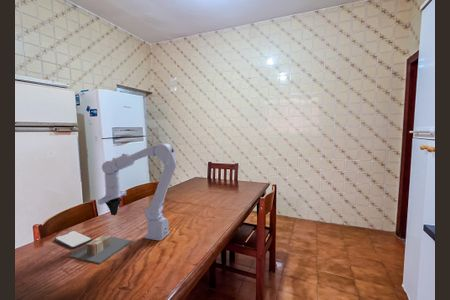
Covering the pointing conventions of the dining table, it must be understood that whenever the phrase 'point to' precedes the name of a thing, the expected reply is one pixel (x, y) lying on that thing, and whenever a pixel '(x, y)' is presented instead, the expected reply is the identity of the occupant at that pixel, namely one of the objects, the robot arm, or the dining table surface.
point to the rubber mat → (104, 254)
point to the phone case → (73, 239)
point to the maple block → (98, 245)
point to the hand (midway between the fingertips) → (114, 214)
